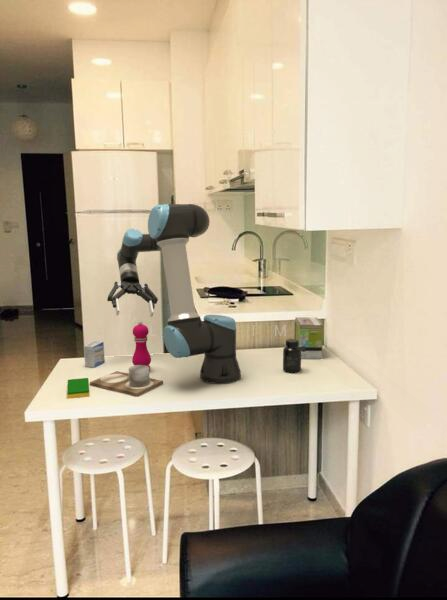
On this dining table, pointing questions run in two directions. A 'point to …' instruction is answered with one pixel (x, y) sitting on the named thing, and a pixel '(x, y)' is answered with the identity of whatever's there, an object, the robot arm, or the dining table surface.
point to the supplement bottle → (292, 356)
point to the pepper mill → (141, 345)
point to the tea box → (309, 337)
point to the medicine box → (94, 354)
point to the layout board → (128, 381)
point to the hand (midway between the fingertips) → (135, 313)
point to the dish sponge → (78, 388)
